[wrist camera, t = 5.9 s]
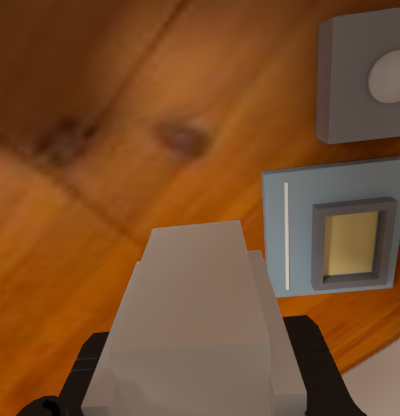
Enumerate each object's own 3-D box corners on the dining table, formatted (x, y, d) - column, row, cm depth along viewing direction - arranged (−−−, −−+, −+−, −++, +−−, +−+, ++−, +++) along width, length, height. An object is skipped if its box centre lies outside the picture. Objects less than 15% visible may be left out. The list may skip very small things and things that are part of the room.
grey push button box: (318, 24, 24) (335, 15, 21) (436, 7, 23) (472, -4, 20) (315, 138, 27) (330, 145, 24) (419, 126, 27) (447, 132, 24)
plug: (152, 228, 14) (107, 352, 7) (239, 220, 14) (270, 341, 7) (171, 325, 16) (148, 487, 10) (246, 319, 16) (275, 481, 9)
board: (261, 171, 29) (266, 178, 26) (403, 155, 28) (420, 161, 25) (266, 291, 34) (271, 305, 32) (386, 281, 33) (399, 295, 31)
